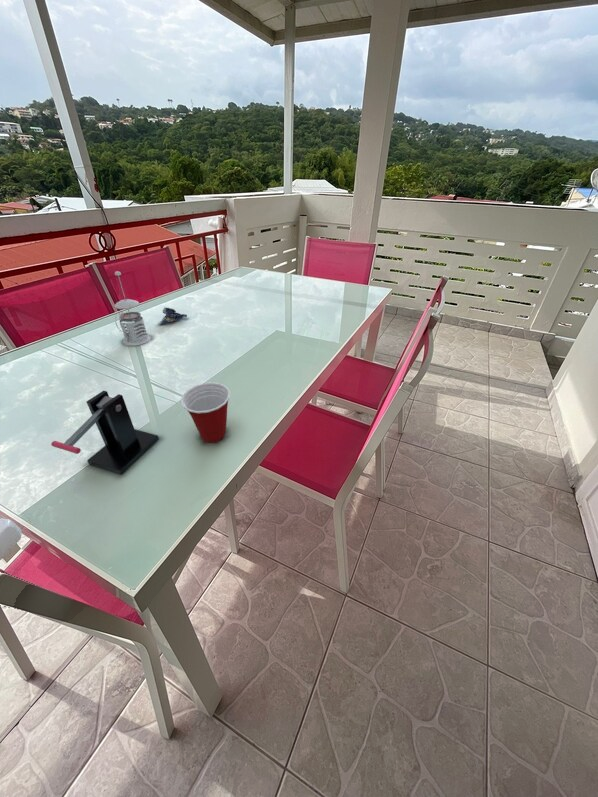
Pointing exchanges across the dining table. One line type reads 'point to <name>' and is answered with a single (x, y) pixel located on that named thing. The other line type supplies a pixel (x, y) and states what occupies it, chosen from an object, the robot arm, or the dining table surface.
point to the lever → (82, 429)
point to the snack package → (171, 315)
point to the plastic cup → (208, 409)
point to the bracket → (118, 436)
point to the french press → (131, 336)
